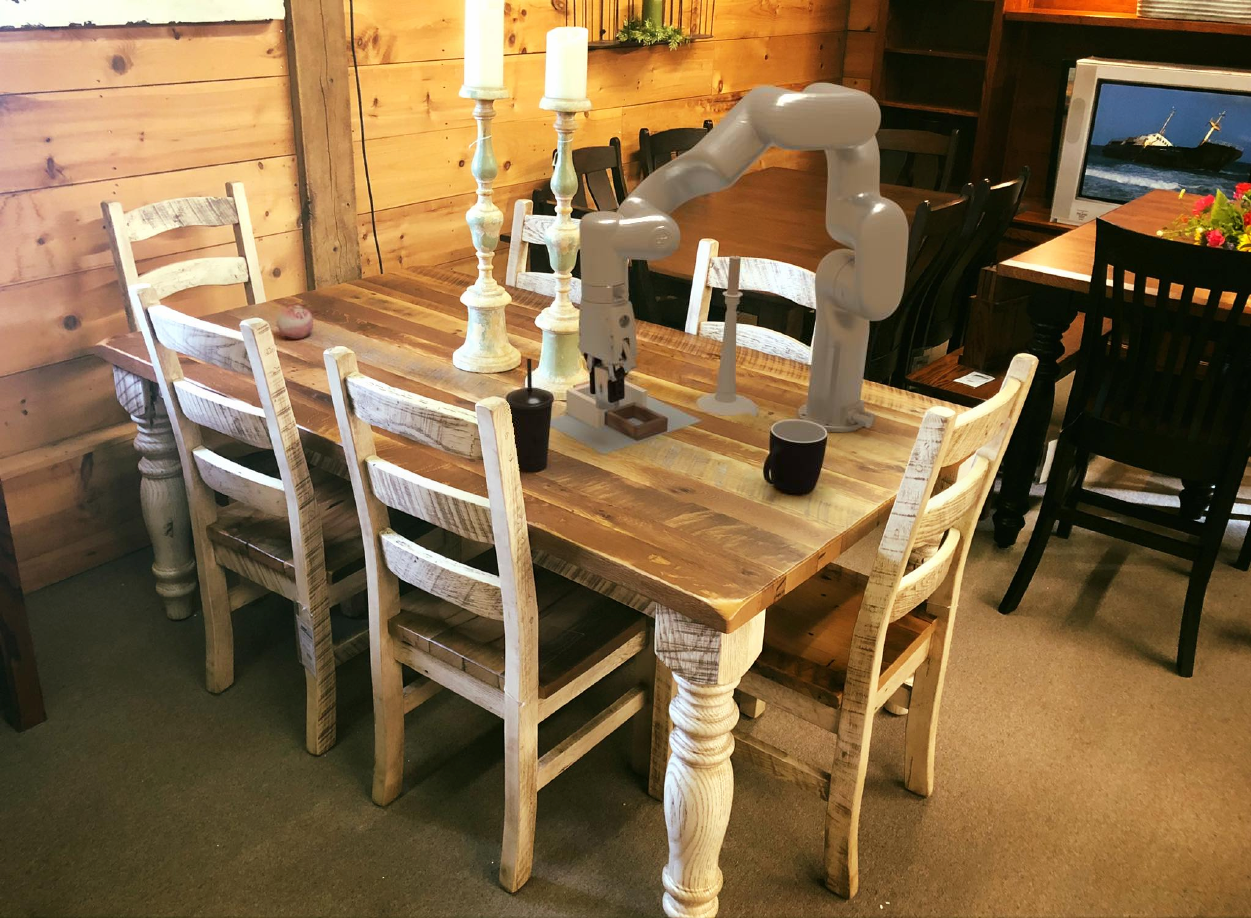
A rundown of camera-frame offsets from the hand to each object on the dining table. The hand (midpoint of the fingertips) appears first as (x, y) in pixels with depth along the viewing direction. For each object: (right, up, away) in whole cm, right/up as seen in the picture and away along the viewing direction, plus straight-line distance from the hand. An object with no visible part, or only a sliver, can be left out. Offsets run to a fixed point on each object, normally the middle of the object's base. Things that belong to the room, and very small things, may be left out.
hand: (607, 395), depth 177 cm
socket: (+5, -5, +10) cm, 12 cm away
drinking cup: (-12, -13, -4) cm, 19 cm away
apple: (-69, +16, +54) cm, 89 cm away
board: (+3, -5, +13) cm, 14 cm away
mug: (+29, -16, -7) cm, 34 cm away
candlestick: (+22, -2, +21) cm, 31 cm away
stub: (0, -2, +1) cm, 2 cm away
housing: (-1, -2, +16) cm, 17 cm away
